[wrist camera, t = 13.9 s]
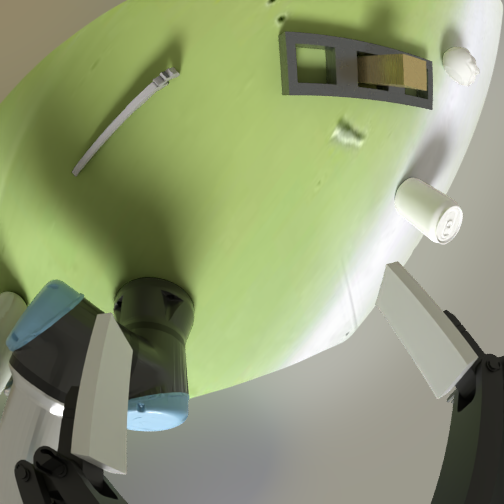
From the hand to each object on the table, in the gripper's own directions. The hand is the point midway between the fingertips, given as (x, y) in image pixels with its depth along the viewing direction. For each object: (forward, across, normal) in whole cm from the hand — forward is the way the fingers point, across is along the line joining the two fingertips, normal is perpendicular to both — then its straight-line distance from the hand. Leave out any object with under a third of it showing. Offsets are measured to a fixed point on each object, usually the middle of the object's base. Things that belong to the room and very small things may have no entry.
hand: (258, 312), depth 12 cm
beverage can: (+29, -35, +9) cm, 46 cm away
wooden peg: (+29, -23, -13) cm, 39 cm away
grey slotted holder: (+29, -23, -13) cm, 39 cm away
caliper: (+29, +12, -8) cm, 33 cm away
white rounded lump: (+29, -44, -19) cm, 56 cm away
